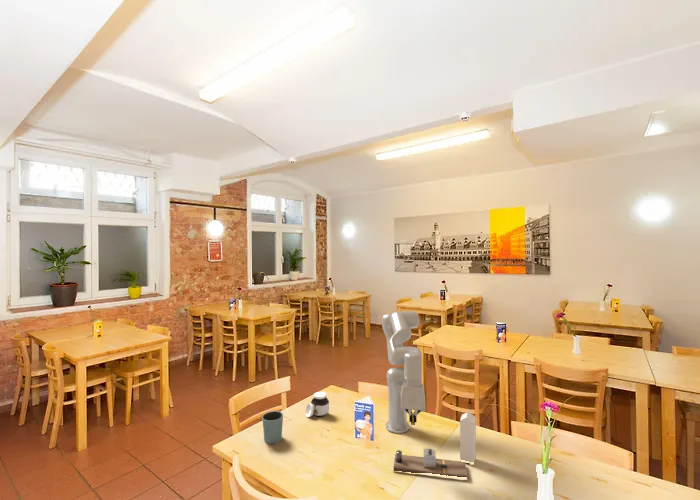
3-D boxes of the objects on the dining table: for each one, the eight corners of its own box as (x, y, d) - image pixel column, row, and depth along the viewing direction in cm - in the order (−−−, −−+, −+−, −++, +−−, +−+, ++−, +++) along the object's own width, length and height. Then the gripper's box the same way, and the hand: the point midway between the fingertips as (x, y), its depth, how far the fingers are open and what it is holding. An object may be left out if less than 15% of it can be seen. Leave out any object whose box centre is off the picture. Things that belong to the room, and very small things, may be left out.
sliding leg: (423, 459, 157) (423, 446, 157) (435, 461, 156) (435, 447, 156) (423, 466, 152) (423, 452, 152) (435, 468, 151) (435, 454, 151)
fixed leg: (396, 459, 158) (396, 450, 158) (402, 459, 157) (402, 450, 157) (396, 462, 156) (396, 453, 155) (401, 463, 155) (401, 453, 155)
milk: (460, 462, 159) (459, 412, 159) (462, 455, 164) (461, 407, 164) (474, 465, 156) (474, 415, 156) (476, 458, 162) (475, 409, 161)
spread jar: (331, 414, 205) (331, 393, 205) (319, 422, 196) (319, 401, 195) (314, 409, 211) (314, 389, 211) (302, 416, 202) (302, 396, 202)
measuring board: (395, 458, 162) (395, 453, 162) (464, 466, 156) (464, 461, 156) (393, 472, 152) (393, 467, 152) (467, 481, 146) (467, 476, 146)
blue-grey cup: (285, 434, 182) (285, 411, 182) (279, 445, 172) (279, 420, 172) (266, 433, 183) (266, 410, 183) (259, 444, 173) (259, 419, 173)
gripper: (394, 383, 153) (395, 426, 153) (430, 385, 150) (430, 429, 150) (396, 377, 160) (396, 417, 160) (430, 379, 157) (430, 421, 157)
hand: (413, 423), depth 155 cm, fingers closed
